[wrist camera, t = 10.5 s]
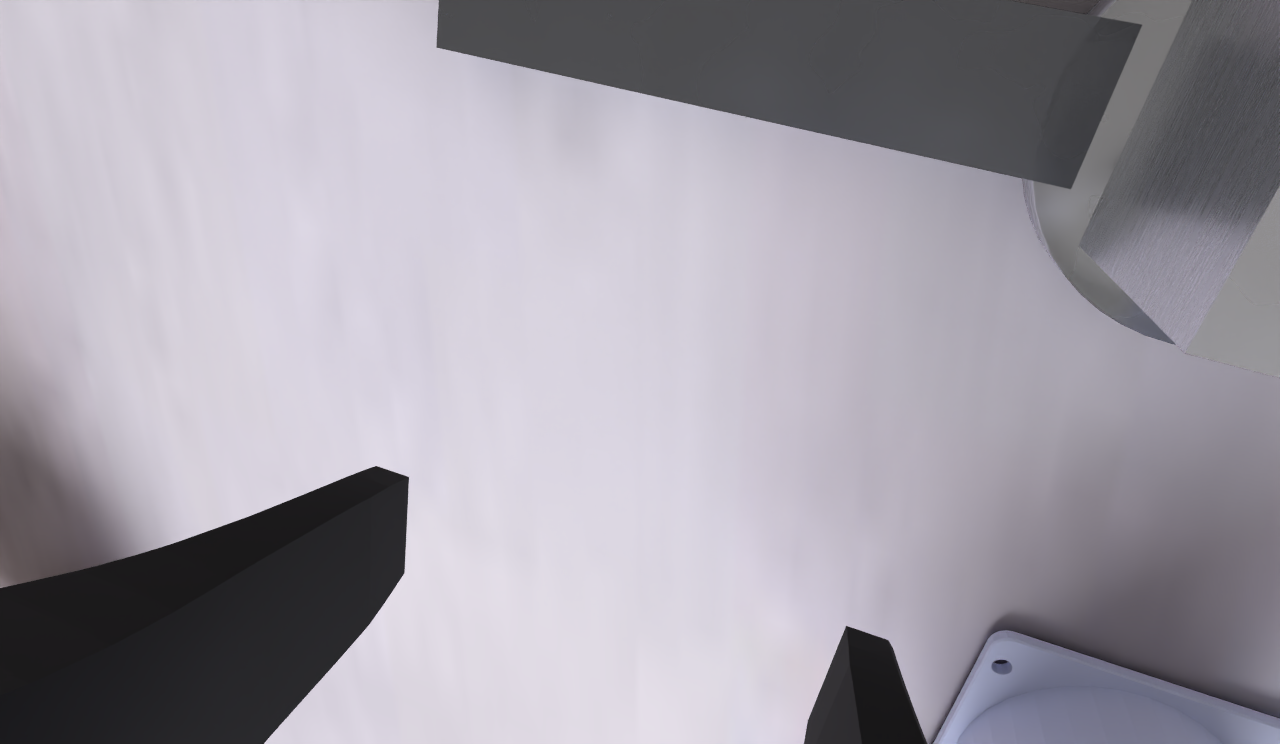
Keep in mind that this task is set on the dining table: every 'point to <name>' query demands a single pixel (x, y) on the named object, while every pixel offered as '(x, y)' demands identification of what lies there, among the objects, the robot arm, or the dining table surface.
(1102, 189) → the ratchet
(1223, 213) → the brushed metal cube
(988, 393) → the dining table surface
